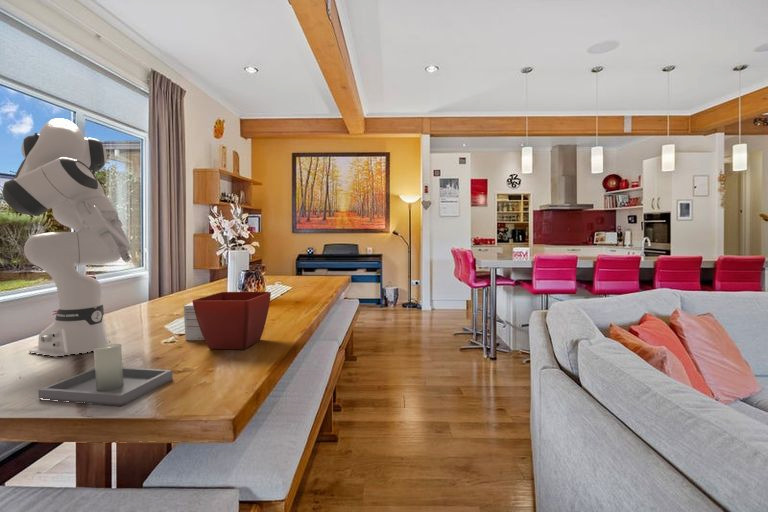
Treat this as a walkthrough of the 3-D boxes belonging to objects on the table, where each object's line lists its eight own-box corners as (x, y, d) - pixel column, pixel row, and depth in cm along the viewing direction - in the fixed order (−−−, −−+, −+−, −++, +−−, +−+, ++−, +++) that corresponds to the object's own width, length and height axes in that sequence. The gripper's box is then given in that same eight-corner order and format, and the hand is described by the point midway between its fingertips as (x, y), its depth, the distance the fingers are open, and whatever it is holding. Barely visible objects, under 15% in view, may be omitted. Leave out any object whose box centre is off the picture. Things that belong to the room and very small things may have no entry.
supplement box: (192, 335, 146) (191, 301, 146) (213, 334, 147) (212, 301, 146) (184, 340, 139) (182, 305, 138) (206, 340, 140) (204, 305, 139)
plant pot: (223, 336, 144) (221, 291, 143) (273, 337, 142) (271, 291, 141) (192, 352, 126) (190, 300, 124) (249, 353, 123) (247, 300, 122)
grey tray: (39, 400, 90) (38, 389, 90) (100, 375, 106) (99, 365, 106) (121, 406, 87) (121, 395, 86) (172, 379, 102) (172, 370, 102)
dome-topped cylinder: (90, 390, 94) (87, 349, 93) (110, 381, 100) (107, 343, 99) (110, 392, 93) (107, 350, 92) (129, 383, 99) (126, 344, 98)
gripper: (94, 193, 101) (119, 236, 99) (122, 223, 120) (144, 260, 118) (67, 204, 99) (93, 248, 97) (100, 233, 118) (122, 271, 116)
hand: (121, 255), depth 108 cm, fingers open, 8 cm apart
